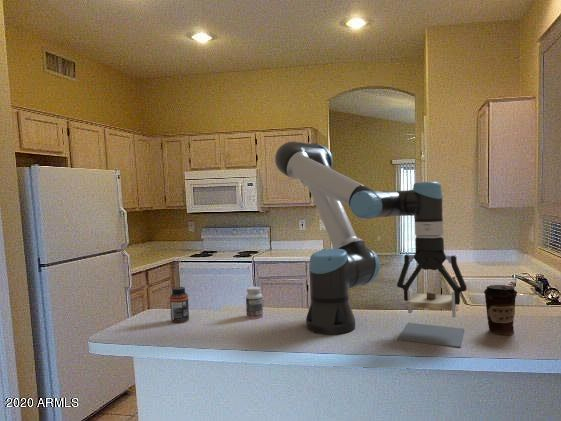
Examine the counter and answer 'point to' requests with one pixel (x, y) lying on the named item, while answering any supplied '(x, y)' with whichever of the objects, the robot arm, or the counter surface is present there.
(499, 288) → the coffee cup
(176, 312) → the supplement bottle
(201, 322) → the counter surface
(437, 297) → the bamboo lid
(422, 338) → the rubber mat
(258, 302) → the pill bottle
